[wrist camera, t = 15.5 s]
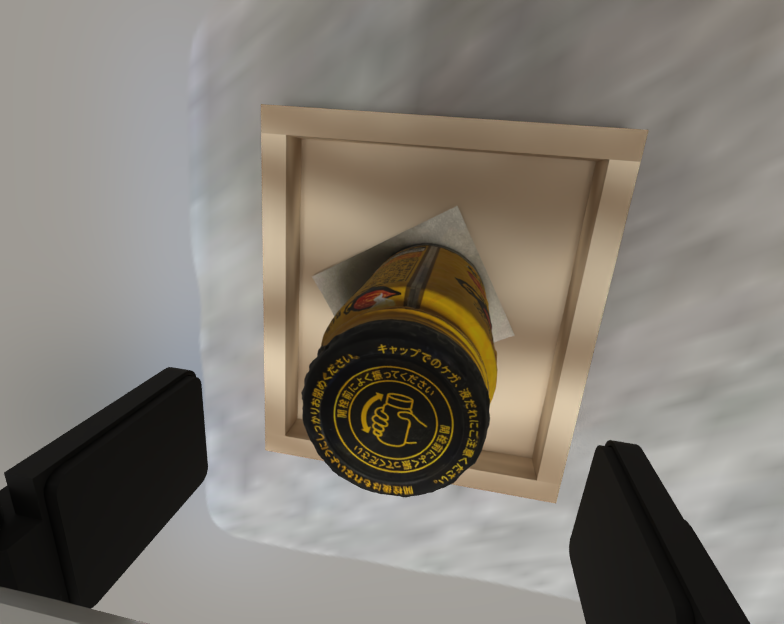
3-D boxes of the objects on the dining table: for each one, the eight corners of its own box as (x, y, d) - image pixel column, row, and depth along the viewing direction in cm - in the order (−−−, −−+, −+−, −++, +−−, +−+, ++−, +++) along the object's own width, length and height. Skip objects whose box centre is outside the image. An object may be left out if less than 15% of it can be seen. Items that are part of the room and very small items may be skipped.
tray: (283, 112, 22) (260, 104, 19) (626, 135, 19) (648, 130, 17) (283, 426, 27) (265, 450, 25) (547, 472, 25) (555, 503, 23)
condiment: (514, 333, 22) (562, 492, 11) (373, 387, 25) (294, 564, 13) (457, 205, 21) (445, 236, 10) (313, 275, 23) (168, 365, 12)
